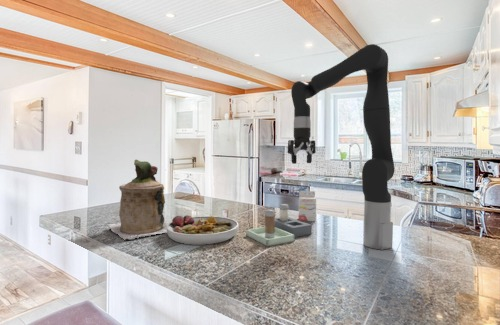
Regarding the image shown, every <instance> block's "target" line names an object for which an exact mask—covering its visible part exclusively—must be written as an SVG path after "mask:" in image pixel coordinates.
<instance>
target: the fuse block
mask: <svg viewBox="0 0 500 325" xmlns="http://www.w3.org/2000/svg"><path fill="white" fill-rule="evenodd" d="M275 227H276V228H279V229H281V230H284V231H286V232H289V233H291V234H294V235H295V238H297V237H303V236H308V235H312V233H313V232H312V230H313V229H312V224H310V223H307V222H306V221H299V219H296V218H292V217H289V216H288V221H285V222H282V221H280V216H278V217H275Z"/></svg>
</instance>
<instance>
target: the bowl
mask: <svg viewBox="0 0 500 325" xmlns="http://www.w3.org/2000/svg"><path fill="white" fill-rule="evenodd" d="M169 223H170V224H168V225H167V233H166V234H167V235H168V237H169V238H170V239H171V240H172V241H174V242H176V243H180V244H183V243H184V245H190V244H191V246H192V245H194V246H203V245H204V246H205V245H206V244H207V245H212V244H213V245H214V243H215V244H221V243H222V242H225V241H229V240H230V239H231V238H234V237H235V235H236V234H237V233H238V231H239V223H238V221H237V220H235V219H233V218H228V217H224V216H214V215H210V216H203V215H202V216H193V217H192V216H191V215H184V216H182V215H176V216H175V217H173V218H172V220H171V222H169Z"/></svg>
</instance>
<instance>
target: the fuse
mask: <svg viewBox="0 0 500 325" xmlns="http://www.w3.org/2000/svg"><path fill="white" fill-rule="evenodd" d="M289 208H290V207H289V204H287V203H280V204H279V217H280V221H282V222H285V221H288V217H289V213H290V212H289Z"/></svg>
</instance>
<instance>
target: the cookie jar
mask: <svg viewBox="0 0 500 325" xmlns="http://www.w3.org/2000/svg"><path fill="white" fill-rule="evenodd" d="M133 163H134V166H135V169H134V171H135V174H136V177H134V178H132V180H131V181H129V182H127V183H125V184H121V185H119V190H120V191H121V193H120V194H121V196H120V200H119V202H120V203H119V204H120V206H119V212H118V215H119V219H120V220H119V221H120V222H118V223H110V224H107V227H108V229H111V231H112V232H113V233H114V234H115V235H117V234H118V235H119V237H120V238H121V239H122V238H123V239H124V240H125V241H126V240H136V239H135V238H137V239H140V238H146V237H145V236H149V237H152V236H151V235H155V236H157V235H156V234H160V235H163V234H162V233H165V232H157V231H159V230H163V231H167V225H168V224H170V223H171V222H168V221H165V217H164V214H163V213H164V208H165V204H166V199H165V194H164V190H165V187H164V184H163V183H161V182H160V181H158V180H157V179H156V177H155V175H157V174H158V167H157V166H155V165H152V164H151V163H150V162H149V161H140V160H138V159H135V160H134V162H133ZM165 234H166V233H165ZM118 235H117V236H118ZM139 237H140V238H139ZM123 239H122V240H123ZM124 240H123V241H124Z"/></svg>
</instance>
